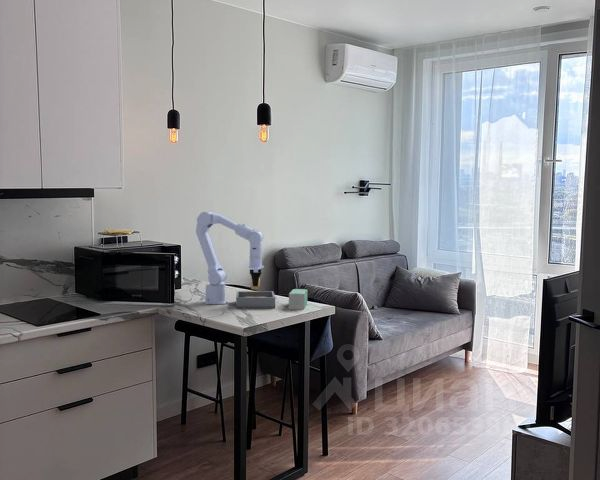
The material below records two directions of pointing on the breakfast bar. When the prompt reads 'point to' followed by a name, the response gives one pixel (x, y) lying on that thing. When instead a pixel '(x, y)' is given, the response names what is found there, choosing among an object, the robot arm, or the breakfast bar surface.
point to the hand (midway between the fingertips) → (255, 285)
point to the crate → (255, 299)
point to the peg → (255, 286)
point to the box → (298, 299)
